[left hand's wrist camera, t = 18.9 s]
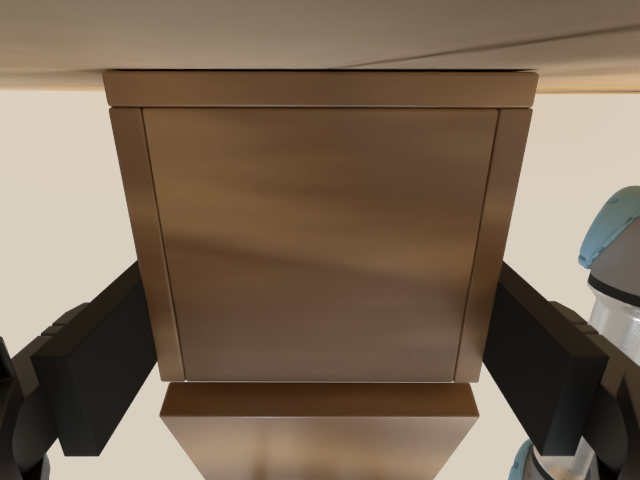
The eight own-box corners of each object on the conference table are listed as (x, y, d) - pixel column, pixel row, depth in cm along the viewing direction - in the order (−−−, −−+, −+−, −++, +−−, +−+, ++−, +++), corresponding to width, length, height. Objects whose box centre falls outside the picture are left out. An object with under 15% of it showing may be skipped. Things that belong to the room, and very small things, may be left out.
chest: (404, 87, 21) (393, 229, 25) (235, 87, 21) (246, 229, 25) (541, 71, 8) (478, 383, 11) (99, 70, 8) (160, 382, 11)
